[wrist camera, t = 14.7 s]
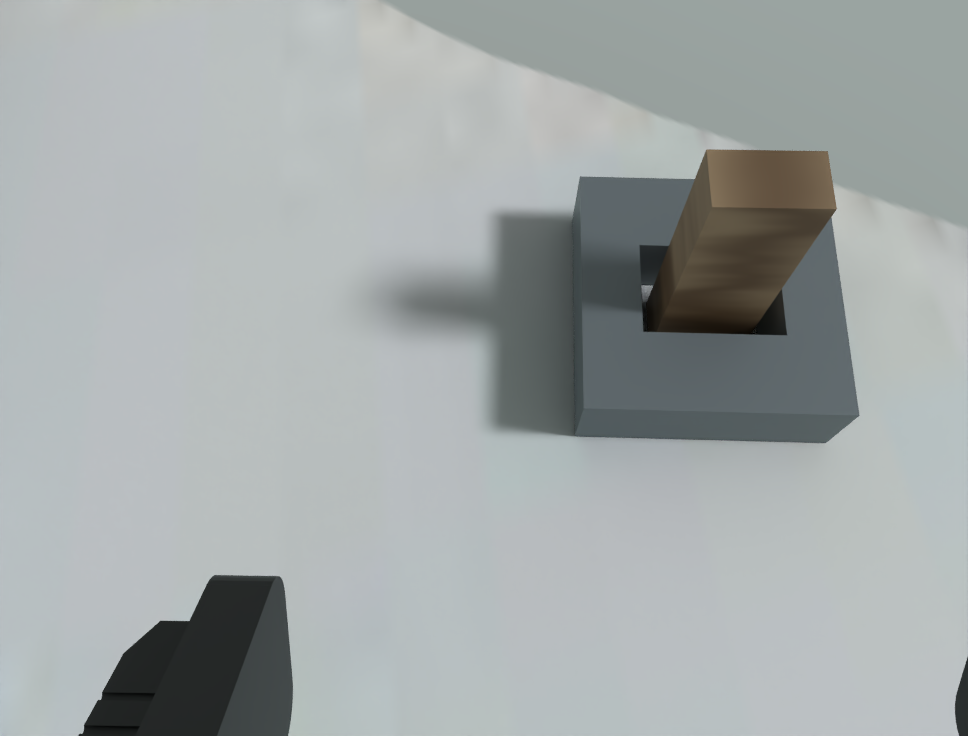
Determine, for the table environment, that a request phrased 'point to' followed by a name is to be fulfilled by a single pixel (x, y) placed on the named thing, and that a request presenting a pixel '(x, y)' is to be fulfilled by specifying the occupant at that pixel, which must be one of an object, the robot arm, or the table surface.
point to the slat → (740, 239)
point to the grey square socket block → (698, 335)
